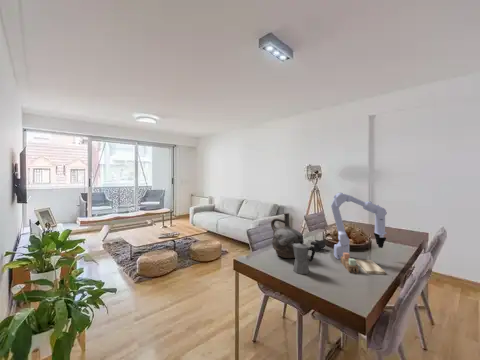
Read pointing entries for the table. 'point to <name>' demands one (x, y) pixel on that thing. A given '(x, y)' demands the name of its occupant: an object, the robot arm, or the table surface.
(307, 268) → the coffeepot
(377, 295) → the table surface
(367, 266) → the dock
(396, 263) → the table surface
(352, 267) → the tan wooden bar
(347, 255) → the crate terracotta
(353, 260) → the pale green cube
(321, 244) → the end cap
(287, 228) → the vessel
